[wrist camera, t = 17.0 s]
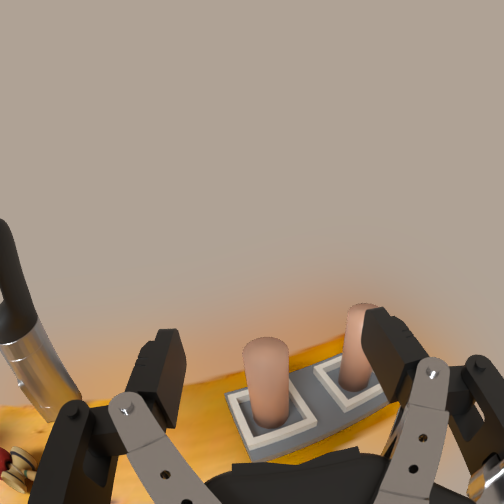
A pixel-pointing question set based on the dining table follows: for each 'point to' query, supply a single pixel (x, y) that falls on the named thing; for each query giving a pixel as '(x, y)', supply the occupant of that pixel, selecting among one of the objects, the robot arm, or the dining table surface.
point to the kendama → (17, 468)
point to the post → (268, 381)
